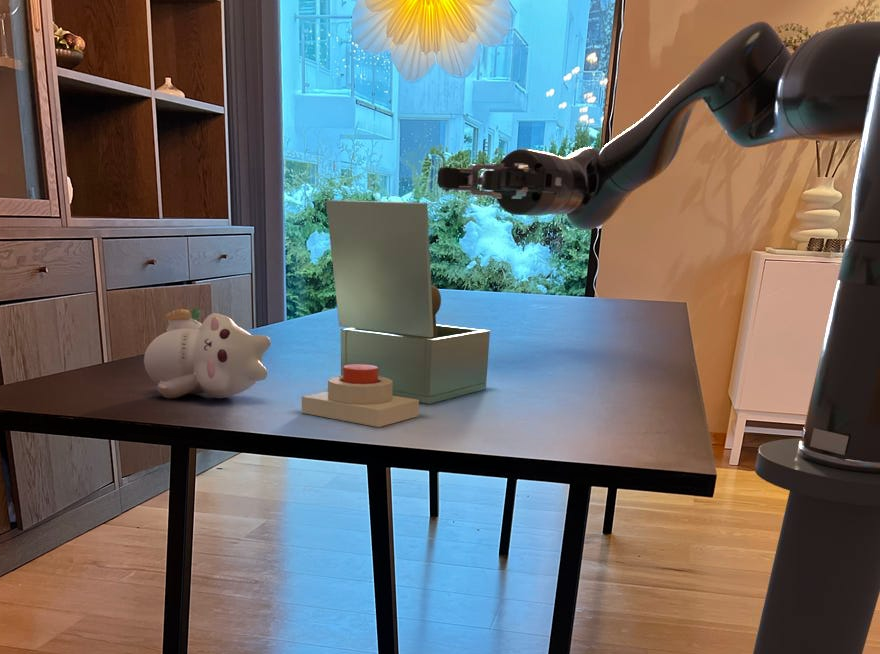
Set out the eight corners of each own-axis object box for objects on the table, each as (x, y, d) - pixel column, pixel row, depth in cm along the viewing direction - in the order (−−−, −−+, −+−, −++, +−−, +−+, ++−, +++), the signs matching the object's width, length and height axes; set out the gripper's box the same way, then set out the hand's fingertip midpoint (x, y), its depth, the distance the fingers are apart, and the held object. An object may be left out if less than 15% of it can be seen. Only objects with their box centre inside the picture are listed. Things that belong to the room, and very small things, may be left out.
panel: (418, 416, 93) (419, 382, 92) (379, 427, 88) (379, 391, 87) (343, 403, 99) (343, 370, 97) (301, 412, 93) (301, 378, 92)
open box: (401, 376, 115) (403, 320, 112) (486, 389, 109) (490, 330, 106) (340, 389, 106) (340, 329, 103) (429, 404, 99) (432, 340, 97)
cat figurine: (131, 302, 97) (257, 293, 92) (171, 336, 105) (289, 328, 100) (122, 387, 96) (248, 381, 91) (162, 414, 104) (281, 410, 99)
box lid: (329, 199, 96) (325, 200, 95) (427, 202, 89) (424, 203, 89) (342, 325, 103) (338, 326, 103) (433, 336, 97) (430, 337, 96)
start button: (384, 384, 92) (385, 366, 92) (363, 388, 90) (364, 370, 89) (357, 380, 94) (357, 362, 94) (335, 384, 92) (335, 366, 91)
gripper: (489, 151, 119) (422, 142, 107) (588, 150, 112) (528, 140, 100) (485, 214, 122) (419, 211, 110) (581, 216, 115) (522, 214, 103)
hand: (471, 177), depth 105 cm, fingers open, 8 cm apart
